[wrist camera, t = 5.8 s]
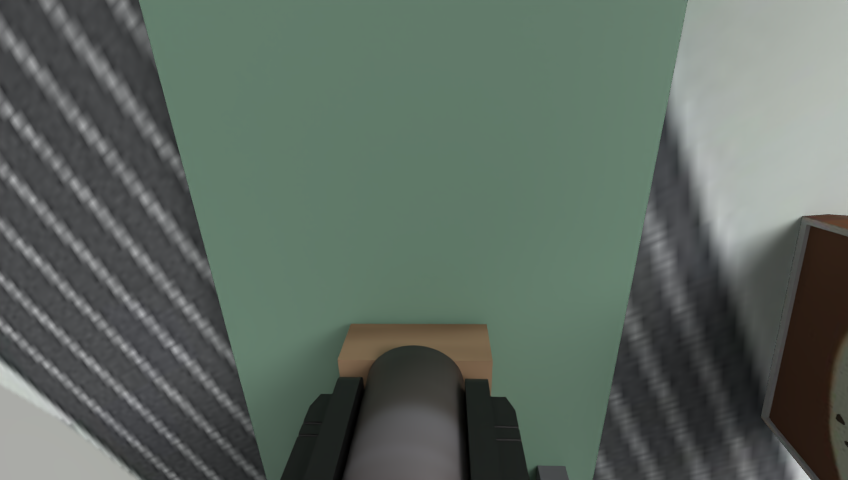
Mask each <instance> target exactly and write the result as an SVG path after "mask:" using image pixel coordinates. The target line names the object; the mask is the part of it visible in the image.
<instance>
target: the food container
mask: <svg viewBox="0 0 848 480" xmlns="http://www.w3.org/2000/svg"><path fill="white" fill-rule="evenodd" d="M761 418H762V419H763V420H764V422H765V423H766V424H767V425H768V427H769V428H770V429H771V430H772V432H773V433H774V434H775V435H776V437H777V438H778V439H779V440H780V442H781V443H782V444H783V445H784V447H785V448H786V449H787V450H788V451H789V453H790V454H791V455H792V456H793V458H794V459H795V460H796V461H797V463H798V464H799V465H800V466H801V468H802V469H803V470H804V471H805V473H806V474H807V475H808V476H809V477H810V479H811V480H848V216H845V215H830V214H827V215H813V216H802V220H801V225H800V230H799V235H798V239H797V244H796V249H795V254H794V259H793V264H792V269H791V273H790V278H789V283H788V288H787V293H786V298H785V302H784V307H783V312H782V317H781V322H780V327H779V331H778V336H777V341H776V346H775V351H774V356H773V360H772V365H771V370H770V375H769V380H768V385H767V389H766V394H765V399H764V404H763V409H762V414H761Z"/></svg>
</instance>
